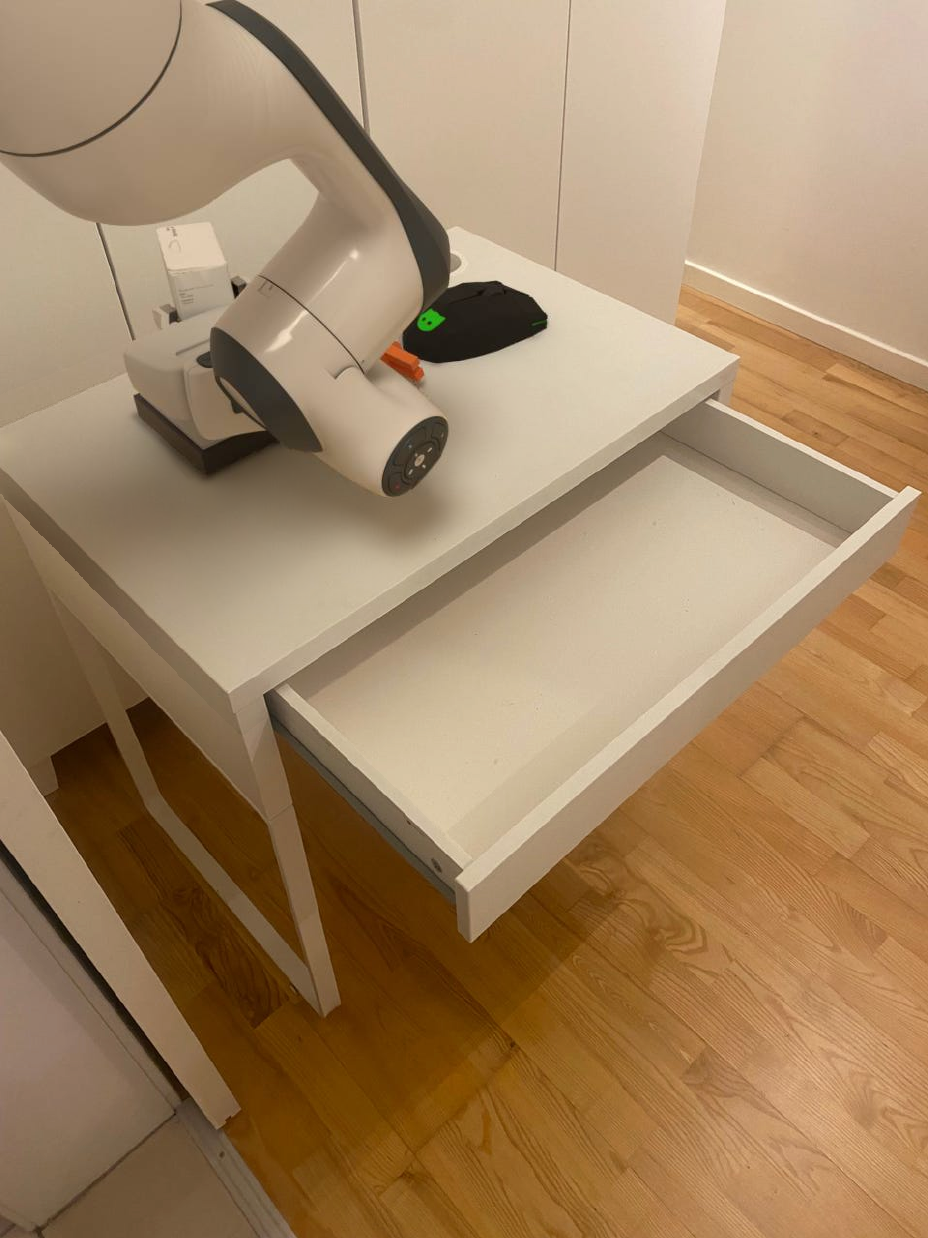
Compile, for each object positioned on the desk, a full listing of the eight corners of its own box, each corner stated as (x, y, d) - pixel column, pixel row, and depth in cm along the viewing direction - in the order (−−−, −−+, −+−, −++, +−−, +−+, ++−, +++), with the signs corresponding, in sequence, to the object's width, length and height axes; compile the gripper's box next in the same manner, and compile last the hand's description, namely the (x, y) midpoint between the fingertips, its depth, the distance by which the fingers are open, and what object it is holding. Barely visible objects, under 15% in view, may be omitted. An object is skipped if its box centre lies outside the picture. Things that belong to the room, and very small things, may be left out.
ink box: (254, 386, 86) (230, 262, 77) (199, 397, 85) (168, 273, 76) (236, 336, 92) (211, 215, 83) (183, 346, 90) (152, 225, 82)
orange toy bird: (428, 333, 93) (337, 291, 98) (381, 387, 91) (290, 342, 96) (439, 368, 97) (351, 327, 102) (394, 420, 95) (307, 376, 100)
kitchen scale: (206, 476, 87) (200, 449, 85) (138, 415, 93) (131, 389, 90) (313, 423, 92) (310, 397, 90) (243, 369, 98) (238, 343, 96)
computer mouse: (375, 325, 104) (373, 291, 101) (495, 281, 111) (496, 248, 108) (435, 375, 98) (435, 340, 95) (558, 325, 105) (562, 292, 102)
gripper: (389, 286, 79) (291, 227, 86) (173, 381, 70) (82, 305, 77) (392, 353, 84) (299, 291, 91) (190, 449, 75) (103, 373, 81)
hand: (198, 298), depth 84 cm, fingers closed on ink box, 6 cm apart
